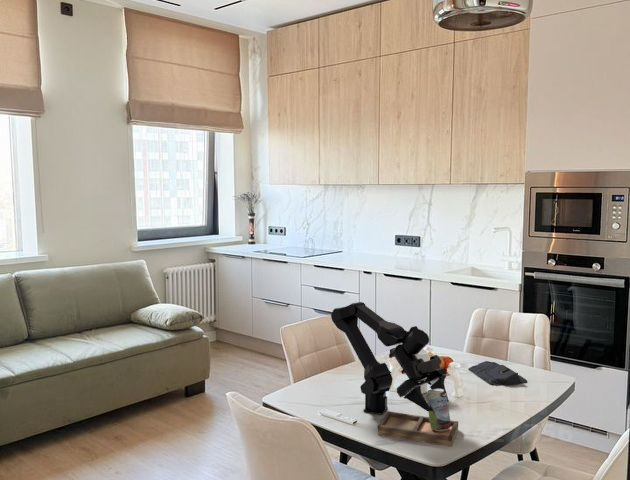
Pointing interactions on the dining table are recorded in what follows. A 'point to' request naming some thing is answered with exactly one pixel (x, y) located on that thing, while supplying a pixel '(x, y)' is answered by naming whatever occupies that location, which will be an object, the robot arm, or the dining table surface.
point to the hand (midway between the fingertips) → (438, 406)
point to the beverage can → (438, 410)
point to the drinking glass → (425, 356)
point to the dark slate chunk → (496, 374)
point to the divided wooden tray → (416, 429)
